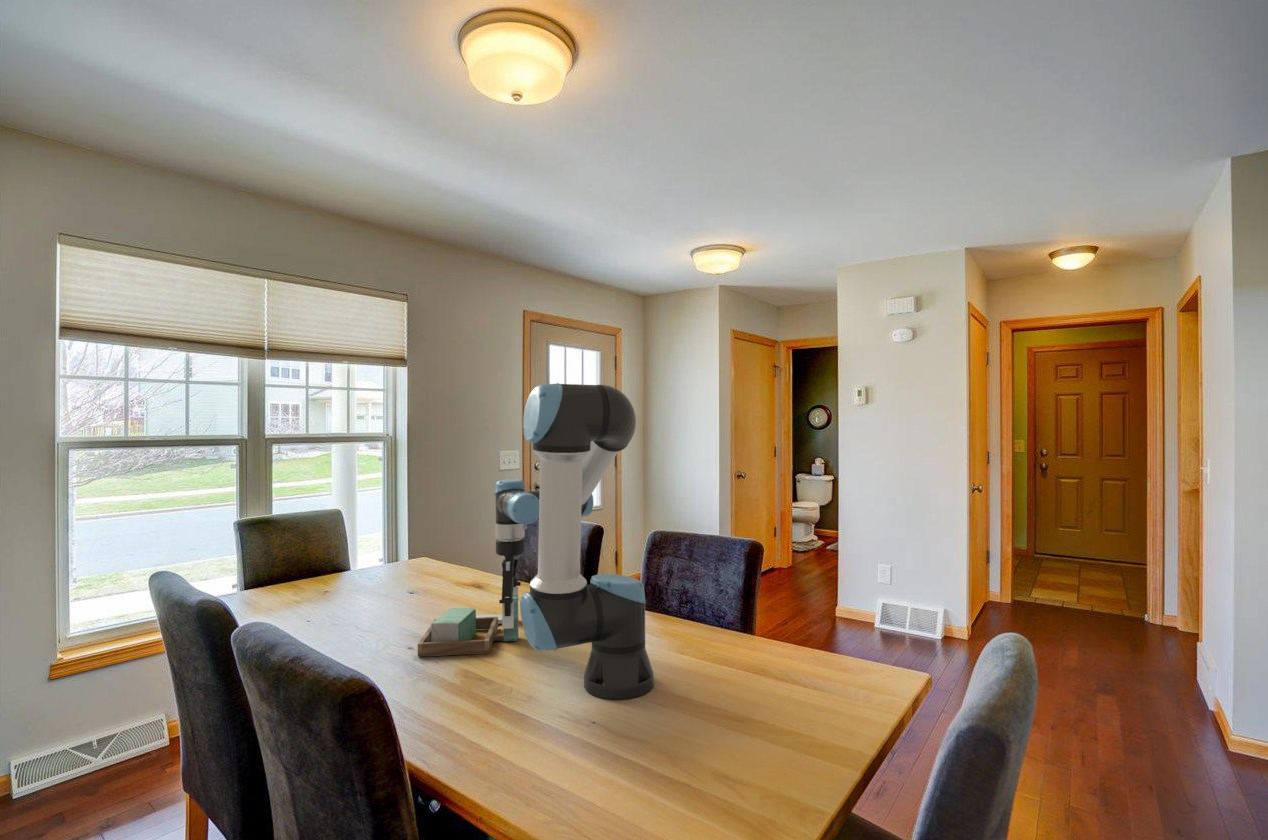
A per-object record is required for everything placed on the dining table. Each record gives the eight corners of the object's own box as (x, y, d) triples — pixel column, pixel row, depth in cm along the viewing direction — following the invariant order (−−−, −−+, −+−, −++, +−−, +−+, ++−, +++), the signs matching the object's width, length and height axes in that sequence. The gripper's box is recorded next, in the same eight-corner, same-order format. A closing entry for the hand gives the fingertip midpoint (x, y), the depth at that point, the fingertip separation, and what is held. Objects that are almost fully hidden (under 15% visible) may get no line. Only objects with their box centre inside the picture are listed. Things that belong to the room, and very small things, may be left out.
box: (476, 634, 164) (476, 606, 165) (459, 653, 151) (459, 623, 151) (450, 634, 165) (449, 606, 165) (430, 653, 151) (430, 623, 151)
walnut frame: (514, 651, 150) (514, 607, 150) (417, 656, 148) (417, 611, 148) (520, 626, 169) (520, 587, 169) (435, 630, 167) (434, 590, 167)
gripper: (520, 548, 148) (521, 635, 148) (528, 529, 173) (528, 604, 173) (489, 549, 147) (489, 636, 147) (501, 530, 172) (501, 605, 172)
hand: (510, 619), depth 160 cm, fingers open, 13 cm apart
